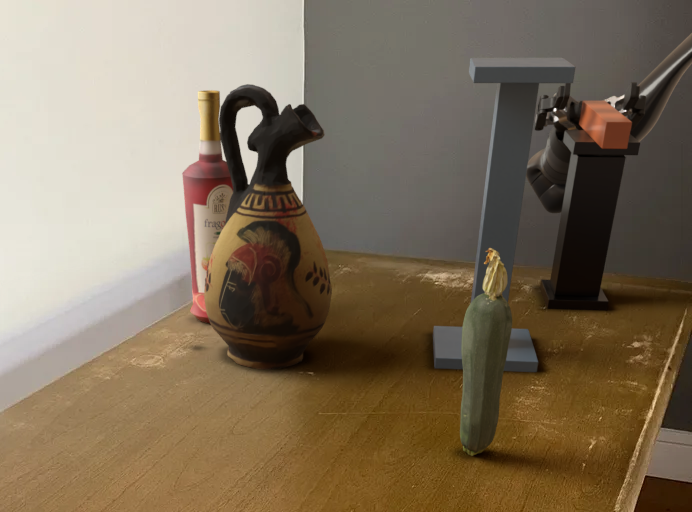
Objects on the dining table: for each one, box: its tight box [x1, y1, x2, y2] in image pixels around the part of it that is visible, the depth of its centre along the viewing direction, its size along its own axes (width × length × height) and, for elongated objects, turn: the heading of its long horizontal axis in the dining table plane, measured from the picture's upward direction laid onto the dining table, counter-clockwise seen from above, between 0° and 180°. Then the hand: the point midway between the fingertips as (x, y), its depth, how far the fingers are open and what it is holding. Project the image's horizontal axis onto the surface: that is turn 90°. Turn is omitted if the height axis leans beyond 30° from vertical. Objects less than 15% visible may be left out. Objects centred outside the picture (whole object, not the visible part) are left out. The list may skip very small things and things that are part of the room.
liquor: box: [181, 89, 233, 324], centre depth 125 cm, size 7×7×28 cm
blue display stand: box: [432, 57, 576, 373], centre depth 111 cm, size 12×12×32 cm
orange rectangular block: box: [579, 100, 632, 149], centre depth 125 cm, size 20×3×3 cm, turn 172°
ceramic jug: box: [204, 83, 333, 370], centre depth 112 cm, size 17×15×30 cm
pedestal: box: [539, 130, 641, 312], centre depth 131 cm, size 10×8×22 cm
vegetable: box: [459, 248, 513, 457], centre depth 90 cm, size 4×4×20 cm
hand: (600, 89), depth 128 cm, fingers open, 8 cm apart
